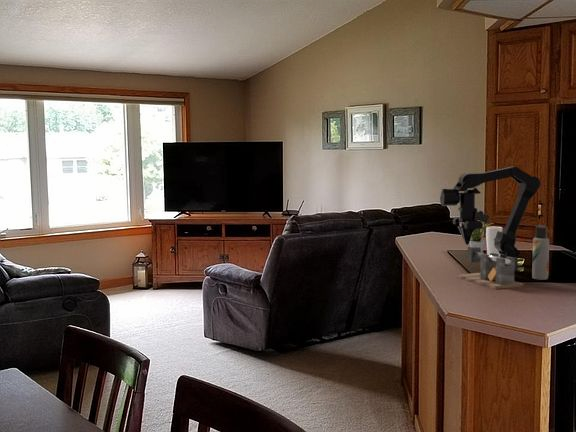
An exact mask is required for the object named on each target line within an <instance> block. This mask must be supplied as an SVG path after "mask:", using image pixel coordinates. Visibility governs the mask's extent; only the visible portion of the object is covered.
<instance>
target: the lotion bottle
mask: <svg viewBox="0 0 576 432" xmlns="http://www.w3.org/2000/svg"><path fill="white" fill-rule="evenodd" d="M549 264H550V239H549V238H548V226H546V225H542V224H539V225H536V226H535V237H534V238H532V268H531V276H532V277H531V278H532V279H534V280H539V281H540V280H541V281H543V280H548V279H549Z"/></svg>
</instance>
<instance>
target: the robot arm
mask: <svg viewBox="0 0 576 432" xmlns="http://www.w3.org/2000/svg"><path fill="white" fill-rule="evenodd" d="M507 178H511V179H513V180H514V181H515V182H516V183H517V184H518V188H517V189H518V190H517V191H518V192H517V198H516V201H515V202H514V204H513V208H512V209H511V212H510V215H509V217H508V220H507V221H506V225H505V226H504V228H503V229H502V232H500V231H498V232H497V234H496V237H495V239H494V241H495V242H494V245H495V248H496V249H497V250H498V252H499V254H501V255H500V257H501V258H505V259H506V257H513V258H515V269H514V273H516V272H521V269H518V264H519V263H518V261H519V260H518V259H519V257H520V255H521V251H520V250H519V249H518V248H517V247H516V246H515V245H516V240H517V234H516V233H517V231H518V229H519V226H520V225H521V221H522V219H523V217H524V214H525V212H526V210H527V208H528V204H529V202H530V200H531V199H532V198H533V197H534V196H535V195H536V194H537V192H538V190H539V189H540V188H541V183H542V182H541V180H540V179H539V178H538V176H534V175H530V174H529V173H527V172H526V171H523V170H522V169H520V168H519V167H518V166H513V165H512V166H508V167H504V168H503V167H502V168H500V169H494V170H488V171H484V172H465V173H462V174H460V176H459V177H458V181H457V183H456V184H455V185H454V187H453V188H442V189H441V193H440V197H439V202H440V205H441V206H442V207H448V206H449V207H452V206H455V207H456V206H457V205H458V204H459V207H458V208H457V209H458V211H459V216H455V217H453V219H452V224H453V225H457V224H458V226H457V228H458V231H459V233H460V235H461V237H462V239H463V241H464V244H465V245H468V246H469V245H470V243H469V242H470V240H472V237H471V236H472V233H473V231H474V230H475V229H481V230H482V229H483V227H484V224H489V220H490V217H491V216H490V215H487V214H485V213H484V211H482V210H481V209H480V210H478V208H477V207H476V195H477V194H479V195H480V194H481V191H480V190H478V188H477V187H478V186H481V185H482V184H485V183H488V182H492V181H499V180H503V179H507ZM482 222H483V223H482Z"/></svg>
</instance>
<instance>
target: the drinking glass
mask: <svg viewBox="0 0 576 432" xmlns="http://www.w3.org/2000/svg"><path fill="white" fill-rule="evenodd" d="M485 227H486V226H485ZM498 231H500V232H502V231H503V226H494V225H493V226H487V227H486V229H485V235H486V236H485V239H486V240H485V243H486V254H488V255H490V253H496V254H499V252H498V250H497V249H496V248H495V245H494V242H495V241H494V239H495V237H496V234H497V232H498ZM500 255H501V254H499V257H500Z"/></svg>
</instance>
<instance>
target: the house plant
mask: <svg viewBox="0 0 576 432" xmlns="http://www.w3.org/2000/svg"><path fill="white" fill-rule="evenodd" d="M482 223H483V229H475V230H474V231H473V233H472V236H471V239H470V242H469V247H481V252H480V253H484V248H485V243H486V240H484V239H483V238H484V237H486V233H483V232H484V231H486V227H490V225H492V224H493V222H491V223H488V224H484V222H482Z"/></svg>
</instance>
